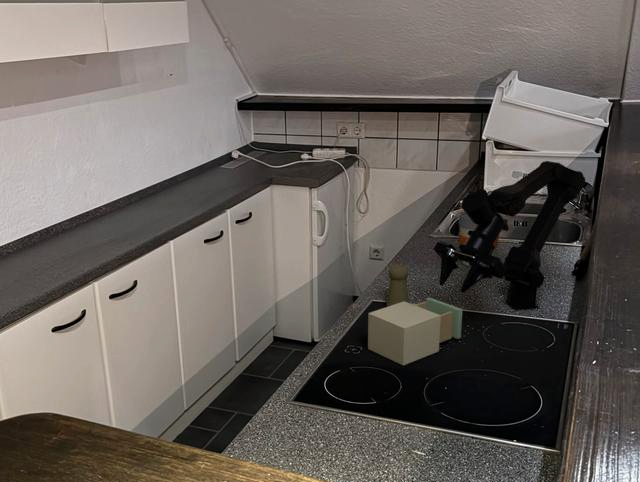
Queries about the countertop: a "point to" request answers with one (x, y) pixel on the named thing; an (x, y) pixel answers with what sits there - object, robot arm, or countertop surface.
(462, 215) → the reusable coffee cup
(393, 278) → the olive brown pawn
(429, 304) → the drawer
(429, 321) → the beige cube
